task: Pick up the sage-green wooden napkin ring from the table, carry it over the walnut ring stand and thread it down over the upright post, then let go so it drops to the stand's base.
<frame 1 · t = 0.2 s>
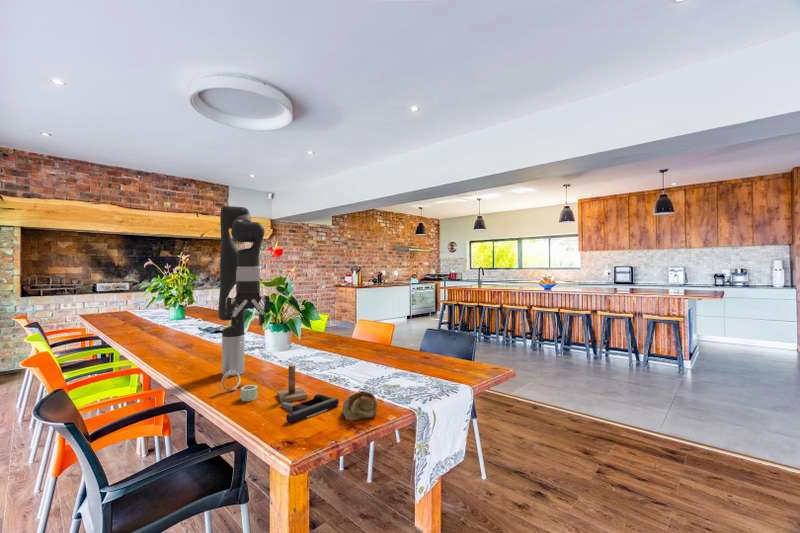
hand: (247, 326, 126), 28 cm above the table, tool pointing down, fingers open, 8 cm apart
door handle: (304, 410, 125), on the table
napkin ring: (249, 398, 134), on the table
pastry: (361, 413, 122), on the table
ring stand: (291, 396, 136), on the table
bracelet: (231, 391, 142), on the table
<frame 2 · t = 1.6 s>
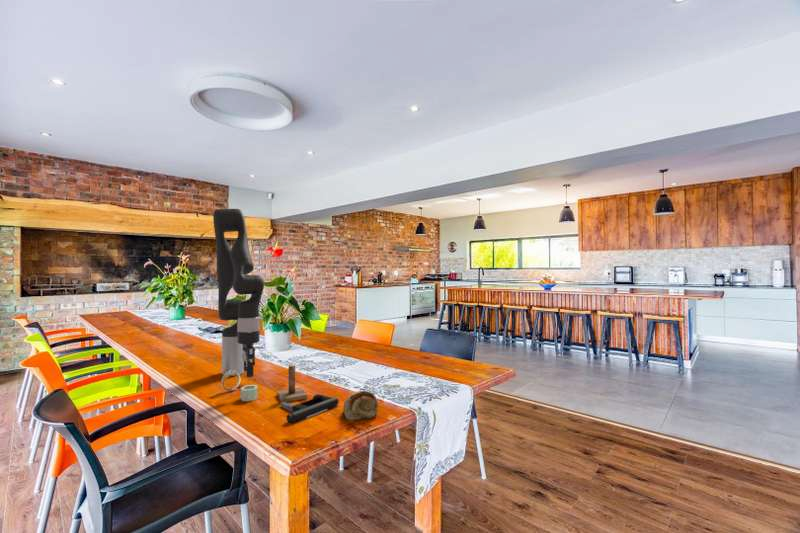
hand: (248, 373, 134), 9 cm above the table, tool pointing down, fingers open, 8 cm apart
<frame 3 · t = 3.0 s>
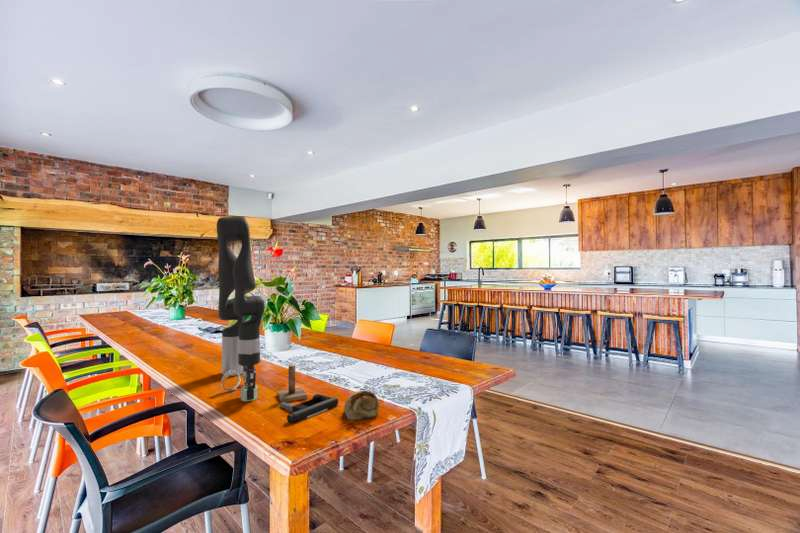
hand: (249, 396, 134), 1 cm above the table, tool pointing down, fingers closed on napkin ring, 5 cm apart
napkin ring: (249, 398, 134), on the table, touching gripper
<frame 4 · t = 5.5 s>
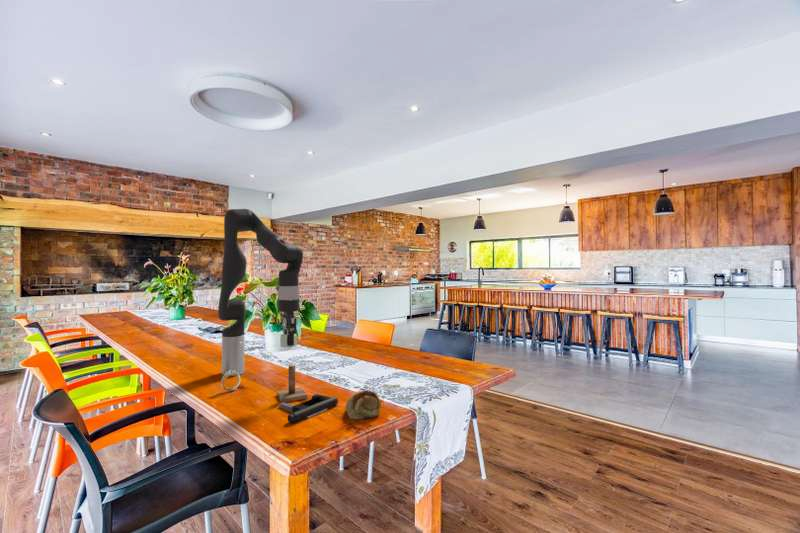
hand: (288, 343, 135), 20 cm above the table, tool pointing down, fingers closed on napkin ring, 5 cm apart
napkin ring: (288, 345, 135), point 19 cm above the table, touching gripper
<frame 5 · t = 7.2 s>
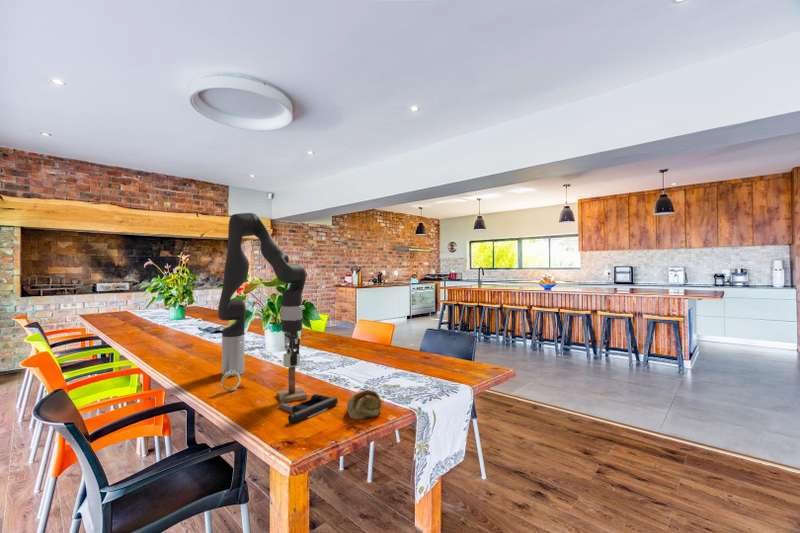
hand: (291, 363, 136), 13 cm above the table, tool pointing down, fingers closed on napkin ring, 5 cm apart
napkin ring: (291, 365, 136), point 12 cm above the table, touching gripper
when the fingers open (10 cm above the table, at t = 8.4 s): napkin ring drops 8 cm, resting on ring stand.
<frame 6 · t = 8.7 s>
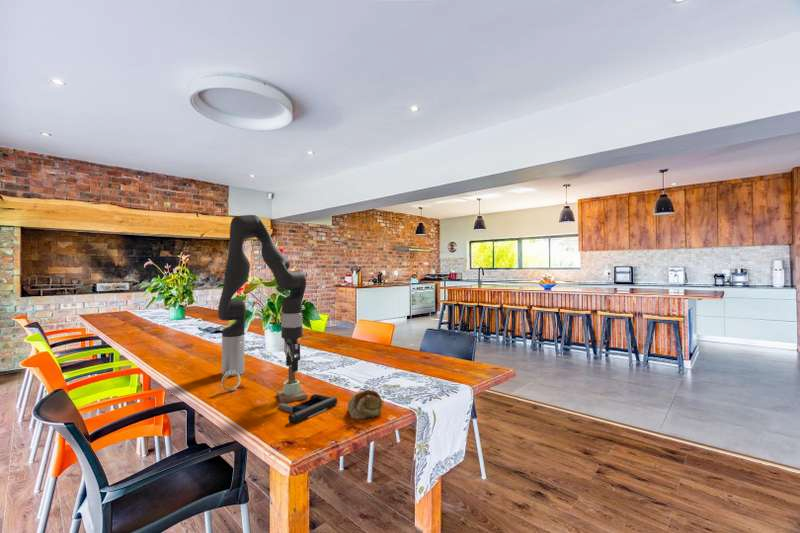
hand: (291, 368, 136), 11 cm above the table, tool pointing down, fingers open, 8 cm apart
napkin ring: (291, 392, 136), point 1 cm above the table, touching ring stand
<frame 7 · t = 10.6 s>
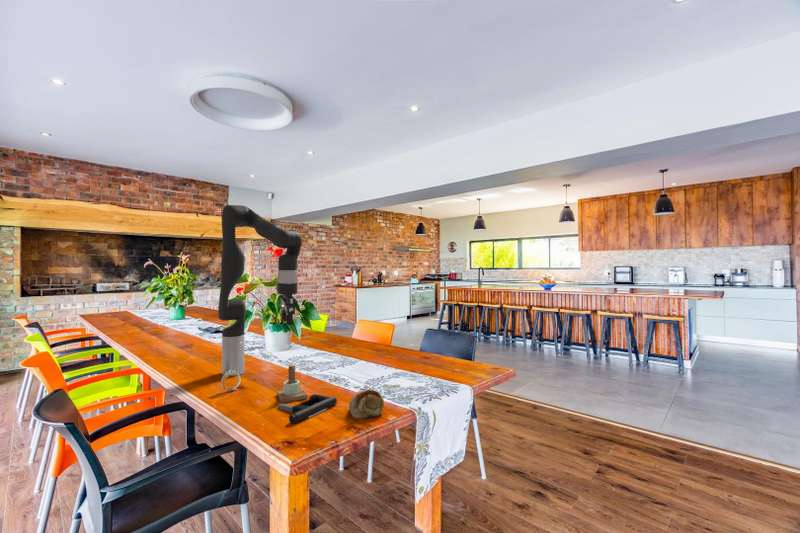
hand: (287, 323, 143), 26 cm above the table, tool pointing down, fingers open, 8 cm apart
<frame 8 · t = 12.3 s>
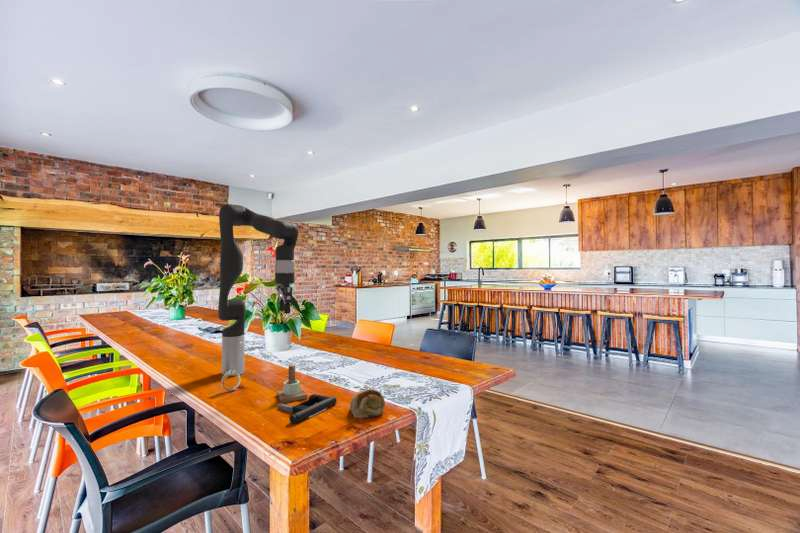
hand: (284, 312, 146), 30 cm above the table, tool pointing down, fingers open, 8 cm apart
at the end: napkin ring 0.0 cm from the ring stand (horizontally); napkin ring point 1.5 cm above the table; the gripper is holding nothing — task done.
